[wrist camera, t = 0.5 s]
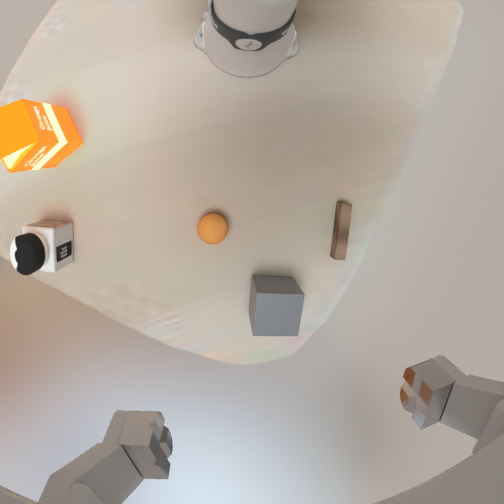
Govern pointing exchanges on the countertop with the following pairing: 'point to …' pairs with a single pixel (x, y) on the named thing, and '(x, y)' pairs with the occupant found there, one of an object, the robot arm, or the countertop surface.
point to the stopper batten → (341, 231)
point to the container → (43, 247)
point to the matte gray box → (275, 306)
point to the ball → (212, 228)
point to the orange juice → (35, 135)
